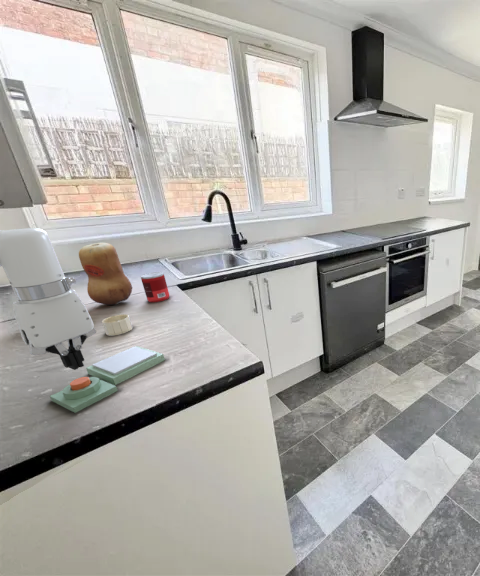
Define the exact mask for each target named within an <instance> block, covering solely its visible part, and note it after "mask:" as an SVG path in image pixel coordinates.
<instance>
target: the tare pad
mask: <svg viewBox="0 0 480 576" xmlns="http://www.w3.org/2000/svg"><path fill="white" fill-rule="evenodd" d="M88 377H89V376H88ZM89 379H90V382H91V384H90V385H89V386H87V387H85V388H83V389H80V390H74V391H73V390H72V388H71V386H70V383H69V384H68V385H67V386H65V387H64V388H63V389H62V390H59V391H57V392H55V393H54V394H51V395H49V398H50V401H51V402H53V403H55V404H56V405H59V406H61V407H63V408H65V409H67V410H68V411H71V413H72V412H73V413H75V414H76V413H78V412H80V411H82V410H83V409H86V408H87V407H89V406H91V405H93V404H95V403H98V402H99V401H101V400H102V399H104V398H106V397H108V396H111V395H113V394H114V393H117V392H118V387H117V386H116V385H114V384H111V383H109V382H106V381H104V380H101V379H99V378H96V377H94V376H90V377H89Z"/></svg>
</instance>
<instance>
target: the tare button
mask: <svg viewBox="0 0 480 576" xmlns="http://www.w3.org/2000/svg"><path fill="white" fill-rule="evenodd" d="M69 384H70V386H71V388H72V390H73V391H74V390H80V389H83V388H85V387H87V386H89V385H90V384H91V382H90V379H89V376H83V377H82V376H81V377H78V378H75V379H73V380H72V381H71V382H70V383H69Z"/></svg>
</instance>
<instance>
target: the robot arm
mask: <svg viewBox="0 0 480 576" xmlns="http://www.w3.org/2000/svg"><path fill="white" fill-rule="evenodd" d="M0 267H2V269H3V271H4V273H5V275H6V278H7V279H8V282H9V284H10V286H11V288H12V291H13V293H14V295H15V297H16V301H13V302H12V309H13V315H14V318H15V322H16V326H17V328H18V331H19V334H20V337H21V338H22V342H23V343H24V344H25V345H26V346H28V350H29V351H28V352H29V354H30V355H32V356H40V355H45V354H48V353H50V354H53V355H54V354H55V355H59V358H60V360H61V362H62V364H63V366H64V367H65V368H68V369H71V370H73V371H76V370H78V369H79V368H84V367H85V365H84V361H85V357H84V355H83V353H82V348H83V345H84V343H85V341H86V340H87V339H88V338H90V337H92V336H93V335H95V334H96V333H97V330H96V328H95V325H94V321H93V319H92V316H91V314H90V313H89V311H88V308H87V306H86V305H85V304H84V302H83V300H82V299H81V297H80V295H79V294H78V293H77V291H76V290H75V289H73V288H72V287H71V286H72V285H75V284H77V280H76V278H75V277H67V276H66V275H65V274H64V271H63V268H62V266H61V263H60V260H59V258H58V255H57V253H56V250H55V248H54V245H53V243H52V240H51V238H50V236H49V234H48V232H47V231H45V230H44V229H42V228H36V227H24V228H14V229H0ZM66 341H67V346H68V348H67V347H66V345H65V344H64V343H63V342H66Z"/></svg>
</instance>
